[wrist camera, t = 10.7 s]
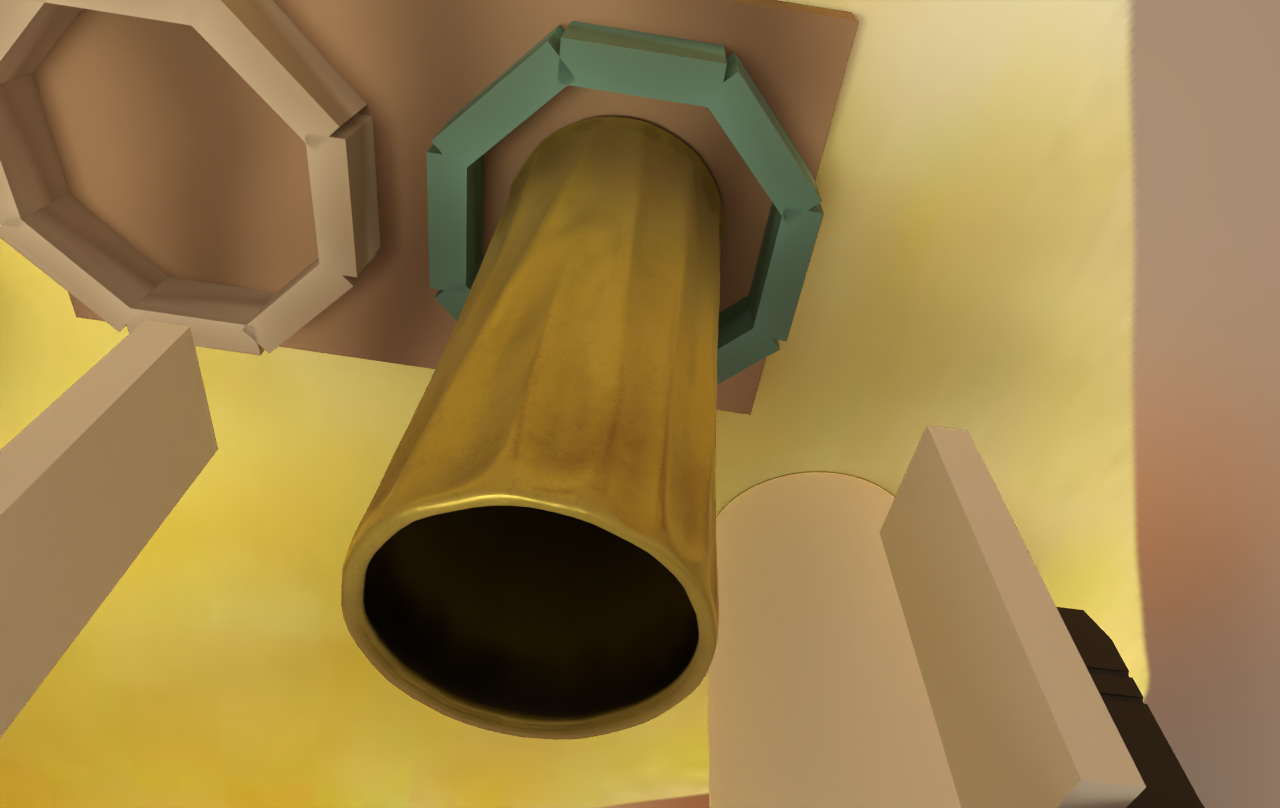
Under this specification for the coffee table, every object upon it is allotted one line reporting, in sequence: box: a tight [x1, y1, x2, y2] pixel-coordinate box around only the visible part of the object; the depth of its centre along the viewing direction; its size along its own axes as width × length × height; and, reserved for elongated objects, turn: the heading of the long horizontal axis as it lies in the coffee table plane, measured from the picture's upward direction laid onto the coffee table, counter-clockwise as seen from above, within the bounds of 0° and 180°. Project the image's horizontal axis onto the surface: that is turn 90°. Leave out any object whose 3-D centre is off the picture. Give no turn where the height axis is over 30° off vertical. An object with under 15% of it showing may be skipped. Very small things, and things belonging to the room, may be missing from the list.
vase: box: [341, 116, 724, 739], centre depth 17 cm, size 6×6×14 cm
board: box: [0, 0, 859, 415], centre depth 22 cm, size 22×12×3 cm, turn 82°
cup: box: [707, 472, 961, 808], centre depth 25 cm, size 8×8×16 cm
